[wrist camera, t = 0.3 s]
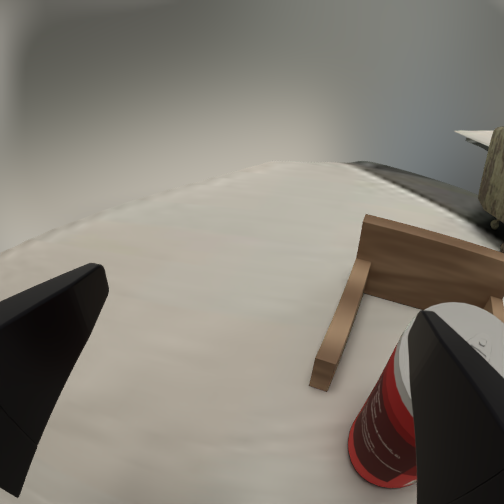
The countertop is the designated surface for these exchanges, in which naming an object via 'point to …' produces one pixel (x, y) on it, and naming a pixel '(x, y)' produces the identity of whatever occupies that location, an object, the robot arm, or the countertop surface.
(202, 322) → the countertop surface
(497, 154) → the tabletop clock
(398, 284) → the cradle
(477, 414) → the robot arm
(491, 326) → the canned food
